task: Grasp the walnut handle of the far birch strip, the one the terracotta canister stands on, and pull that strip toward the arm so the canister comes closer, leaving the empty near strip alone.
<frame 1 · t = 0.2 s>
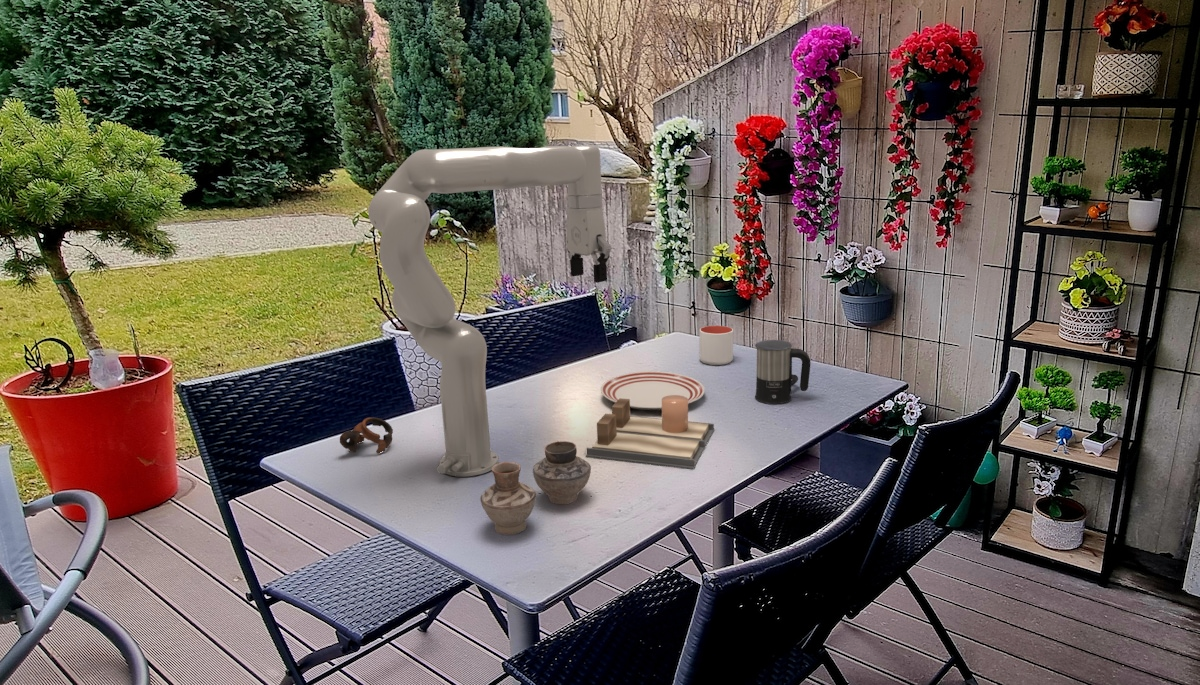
hand: (588, 278, 176), 36 cm above the table, tool pointing down, fingers open, 9 cm apart
milk frother: (776, 394, 205), on the table
cup: (716, 362, 234), on the table
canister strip: (658, 418, 180), point 4 cm above the table, slide at 0.0 cm, touching canister
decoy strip: (645, 435, 170), point 4 cm above the table, slide at 0.0 cm
dinner plate: (652, 399, 205), on the table
brown curved loop: (366, 451, 177), on the table
pottery: (539, 512, 146), on the table
canister: (674, 428, 179), point 2 cm above the table, touching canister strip
lane frame: (652, 443, 176), on the table
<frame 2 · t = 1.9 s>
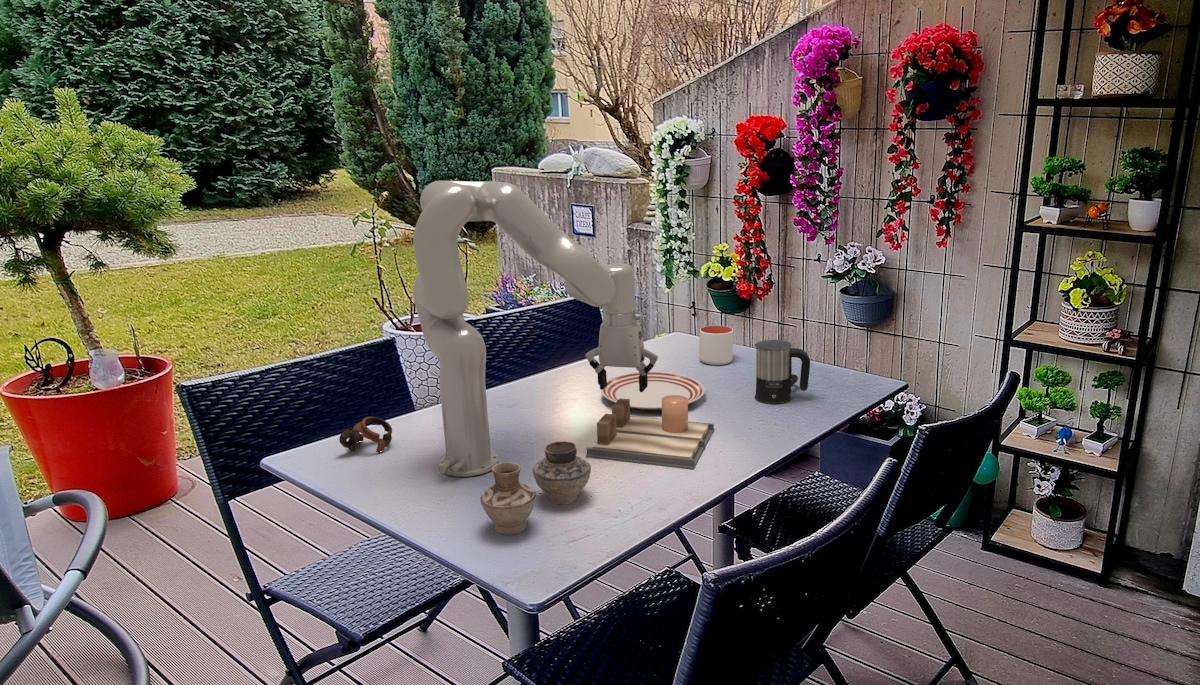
hand: (622, 388, 181), 10 cm above the table, tool pointing down, fingers open, 9 cm apart
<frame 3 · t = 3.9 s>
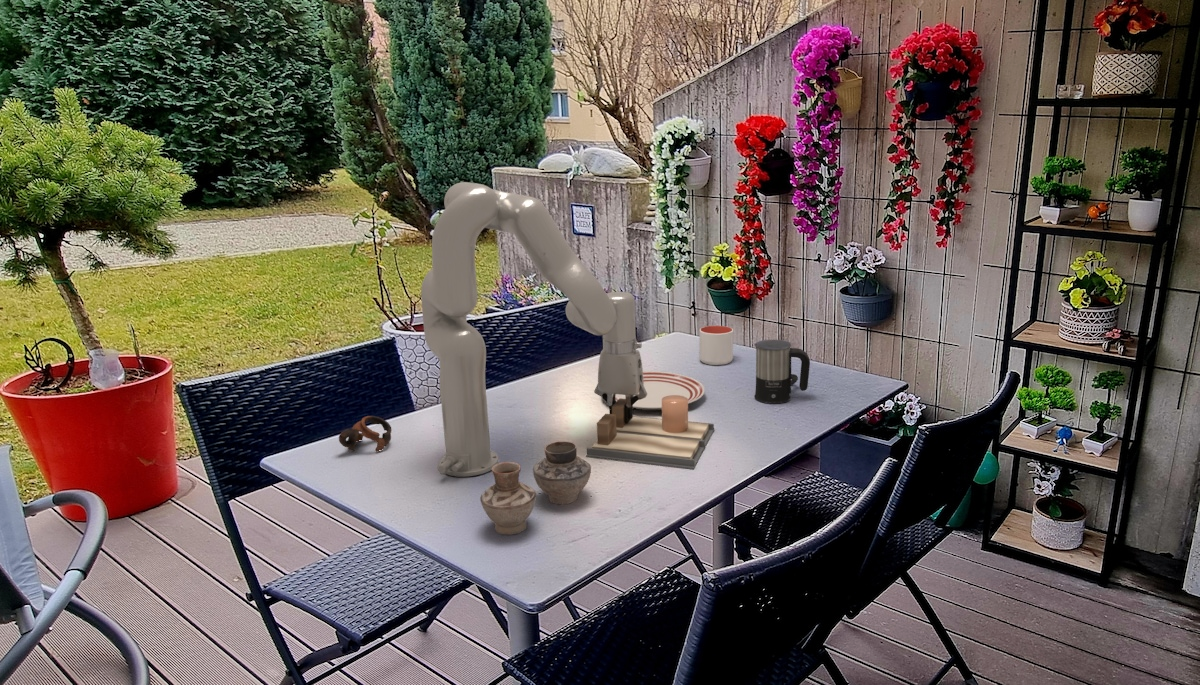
hand: (621, 420, 183), 3 cm above the table, tool pointing down, fingers closed on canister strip, 2 cm apart
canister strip: (658, 418, 180), point 4 cm above the table, slide at 0.0 cm, touching canister, gripper
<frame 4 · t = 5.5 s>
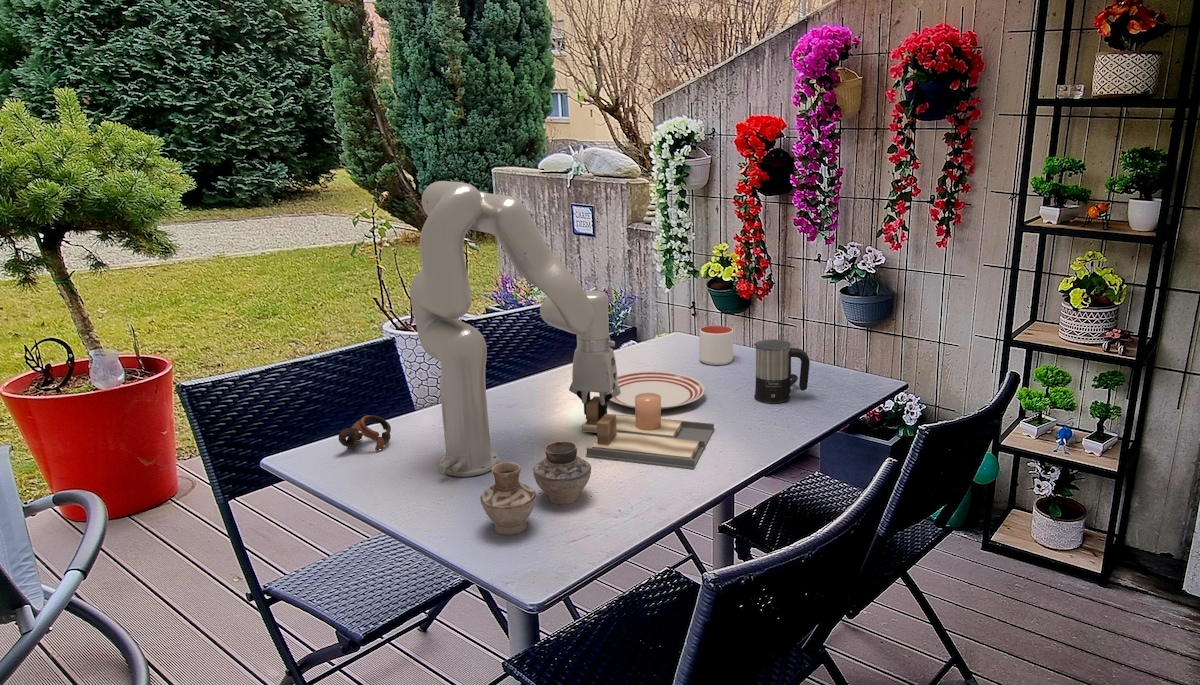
hand: (595, 417, 185), 3 cm above the table, tool pointing down, fingers closed on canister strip, 2 cm apart
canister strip: (631, 416, 182), point 4 cm above the table, slide at 6.4 cm, touching canister, gripper
canister: (648, 425, 181), point 2 cm above the table, touching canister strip
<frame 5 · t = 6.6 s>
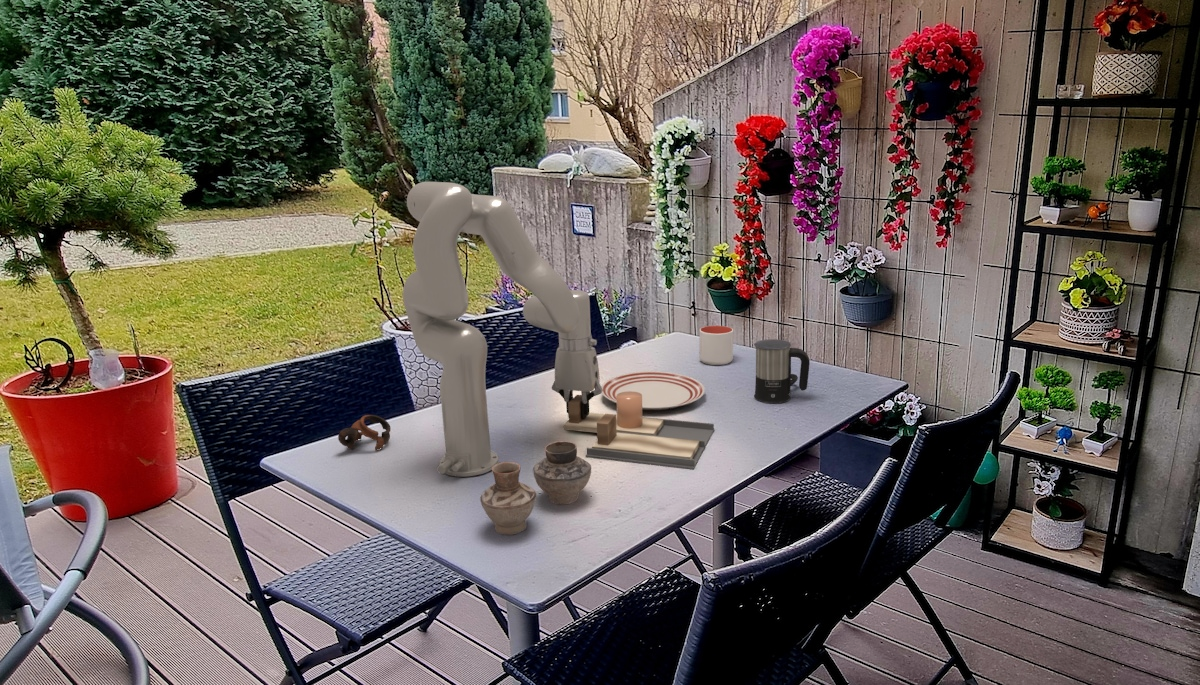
hand: (578, 416, 186), 3 cm above the table, tool pointing down, fingers closed on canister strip, 2 cm apart
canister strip: (613, 414, 183), point 4 cm above the table, slide at 10.9 cm, touching canister, gripper
canister: (629, 423, 182), point 2 cm above the table, touching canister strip
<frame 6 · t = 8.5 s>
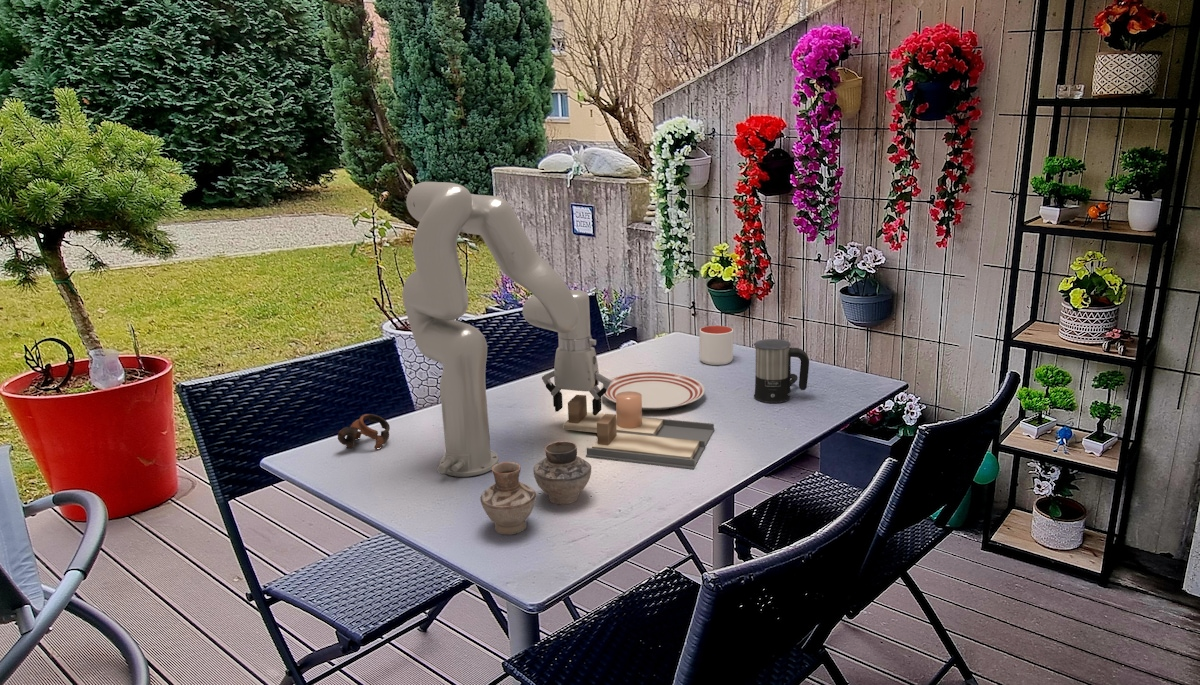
hand: (577, 411, 186), 4 cm above the table, tool pointing down, fingers open, 9 cm apart
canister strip: (613, 414, 183), point 4 cm above the table, slide at 11.0 cm, touching canister
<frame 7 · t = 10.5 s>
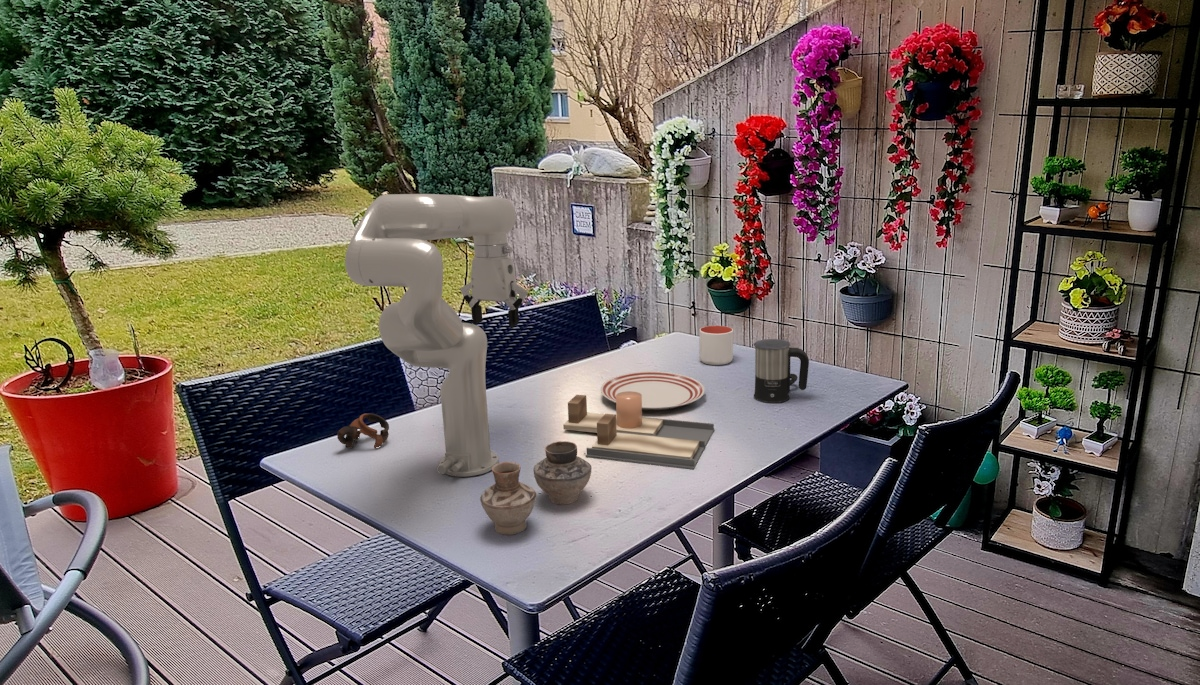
hand: (495, 324, 181), 26 cm above the table, tool pointing down, fingers open, 9 cm apart
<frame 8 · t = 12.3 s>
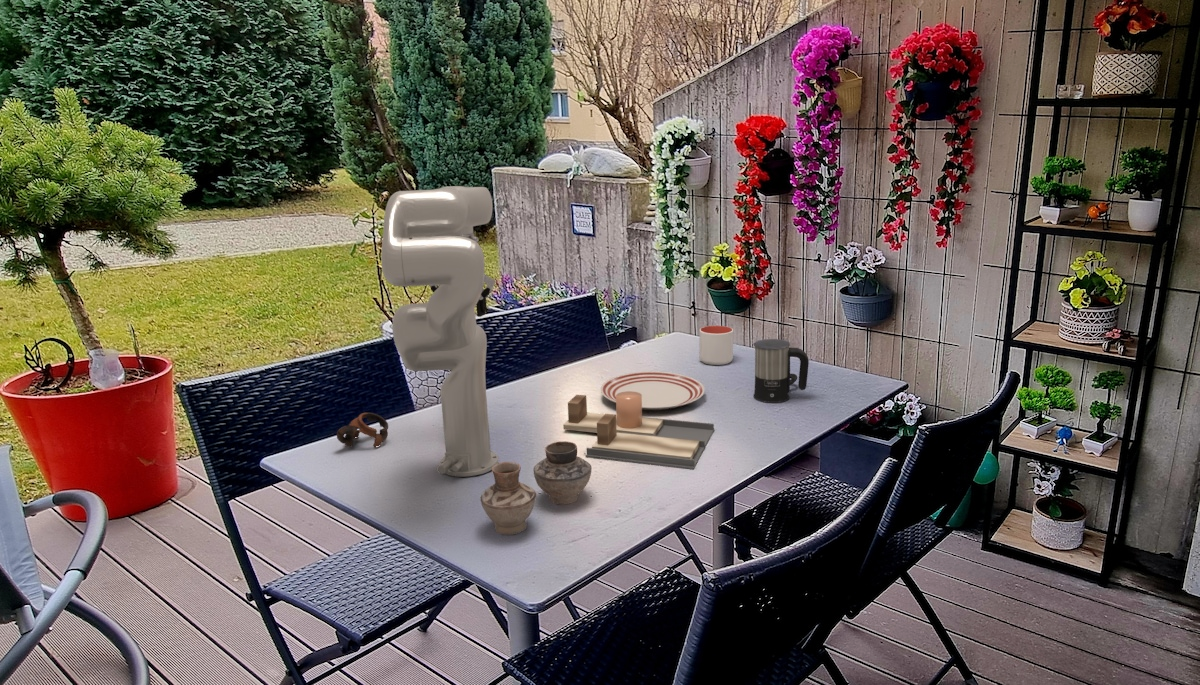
hand: (463, 314, 181), 28 cm above the table, tool pointing down, fingers open, 9 cm apart
at the end: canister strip slide at 11.0 cm; canister inside the target area (0.5 cm from its centre), point 2.0 cm above the table; canister tilted 0° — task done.
